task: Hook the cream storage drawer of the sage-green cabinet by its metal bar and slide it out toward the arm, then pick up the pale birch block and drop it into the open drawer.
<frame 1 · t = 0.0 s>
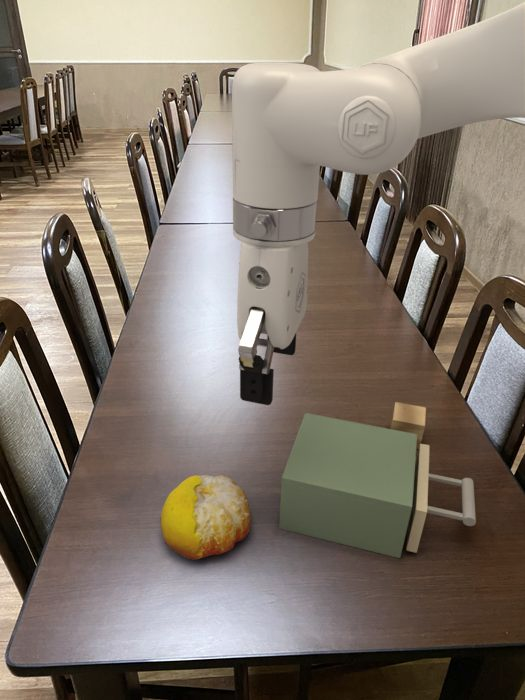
hand: (269, 375, 57), 21 cm above the table, tool pointing down, fingers open, 9 cm apart
drawer: (390, 489, 66), point 4 cm above the table, slide at 0.5 cm
fruit: (208, 530, 66), on the table
block: (405, 437, 81), on the table
cabinet: (345, 504, 69), on the table
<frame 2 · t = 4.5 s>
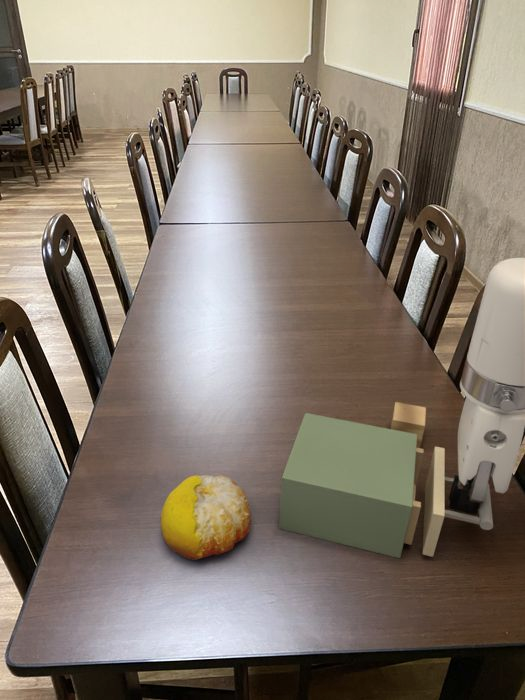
hand: (462, 506, 64), 4 cm above the table, tool pointing down, fingers closed
drawer: (406, 492, 65), point 4 cm above the table, slide at 2.3 cm
everything else where it was.
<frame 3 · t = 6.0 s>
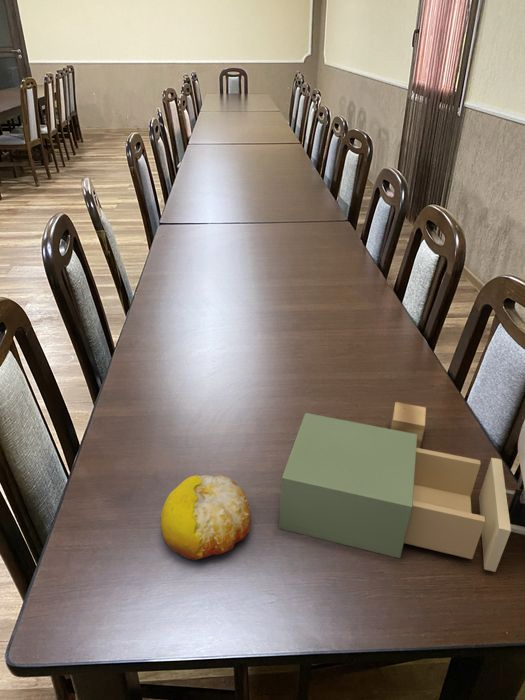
hand: (522, 521, 63), 4 cm above the table, tool pointing down, fingers closed
drawer: (464, 505, 64), point 4 cm above the table, slide at 9.1 cm
everything else where it was.
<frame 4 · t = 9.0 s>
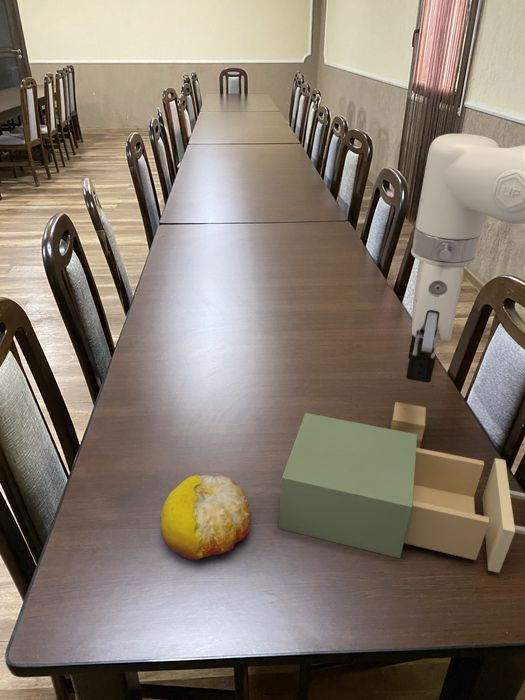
hand: (419, 368, 75), 12 cm above the table, tool pointing down, fingers open, 4 cm apart
drawer: (467, 506, 64), point 4 cm above the table, slide at 9.5 cm
everything else where it was.
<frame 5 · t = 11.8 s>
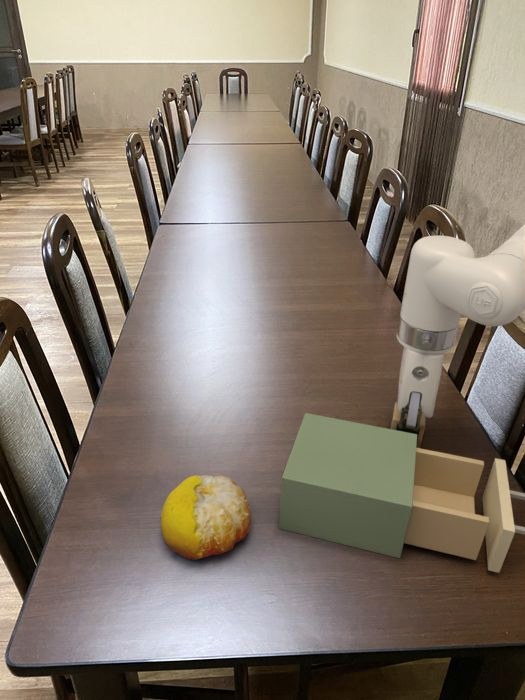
hand: (405, 435, 81), 0 cm above the table, tool pointing down, fingers closed on block, 4 cm apart
block: (404, 437, 81), on the table, touching gripper
everything else where it was.
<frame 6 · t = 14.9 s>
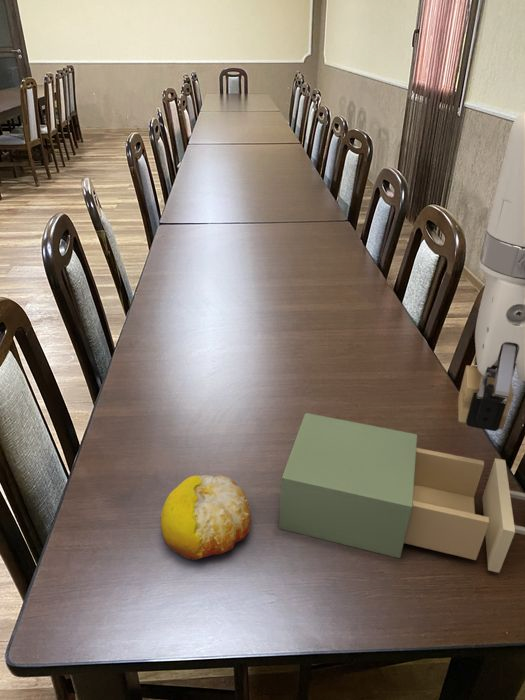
hand: (480, 410, 59), 17 cm above the table, tool pointing down, fingers closed on block, 4 cm apart
block: (479, 413, 59), point 17 cm above the table, touching gripper
everything else where it was.
when the fingers open (7 cm above the table, at t = 17.9 s): block drops 5 cm, resting on drawer.
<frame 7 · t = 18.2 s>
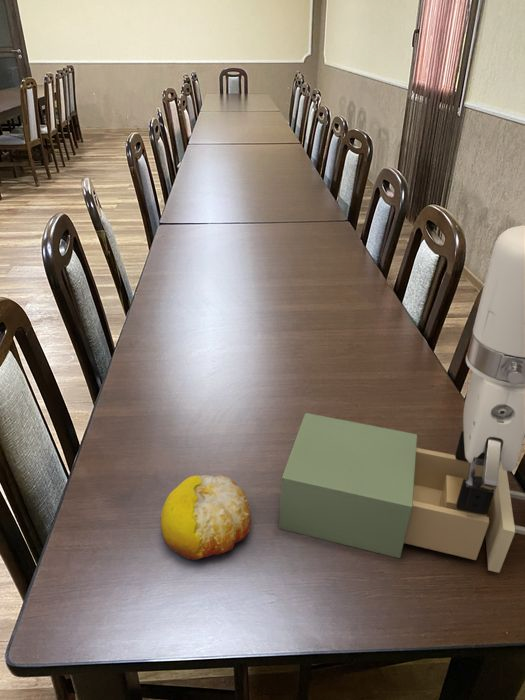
hand: (469, 483, 62), 8 cm above the table, tool pointing down, fingers open, 7 cm apart
drawer: (467, 506, 64), point 4 cm above the table, slide at 9.5 cm, touching block
block: (458, 518, 65), point 2 cm above the table, touching drawer
everything else where it was.
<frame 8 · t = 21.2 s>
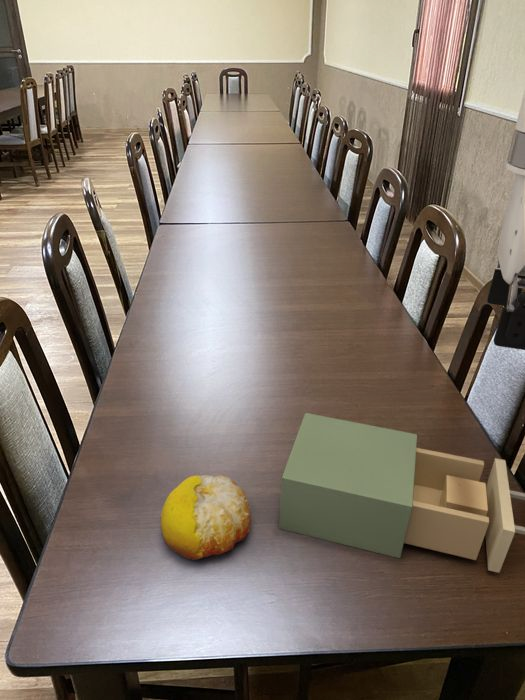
hand: (505, 323, 57), 26 cm above the table, tool pointing down, fingers open, 9 cm apart
nothing on the table moved.
at the end: drawer slide at 9.5 cm; block inside the target area in the drawer (7.5 cm from its centre), point 2.0 cm above the cabinet's base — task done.
